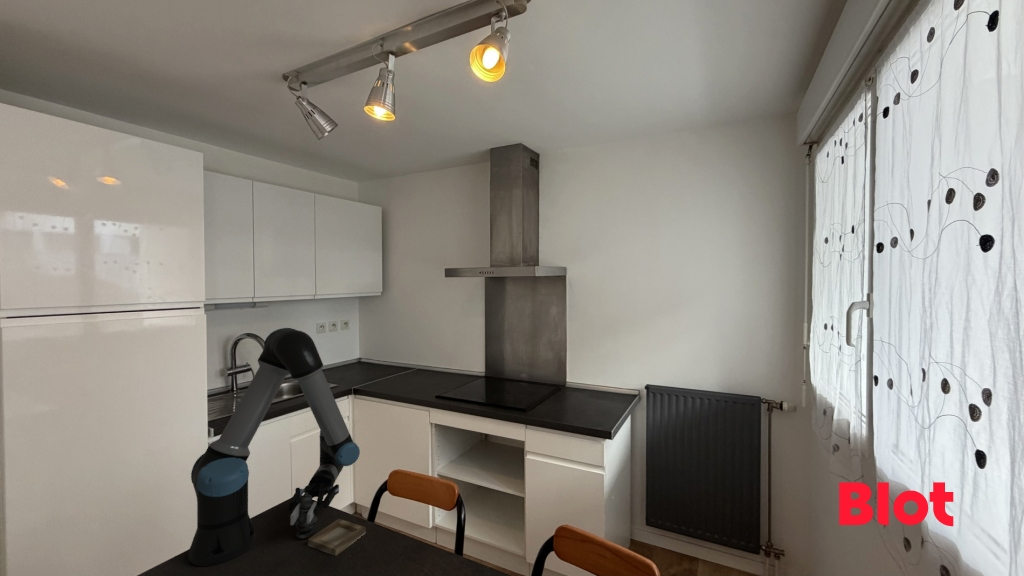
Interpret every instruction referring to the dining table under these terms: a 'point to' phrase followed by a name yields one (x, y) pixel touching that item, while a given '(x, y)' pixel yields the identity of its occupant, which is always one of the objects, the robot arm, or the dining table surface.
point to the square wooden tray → (336, 537)
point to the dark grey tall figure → (305, 518)
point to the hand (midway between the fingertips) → (300, 519)
